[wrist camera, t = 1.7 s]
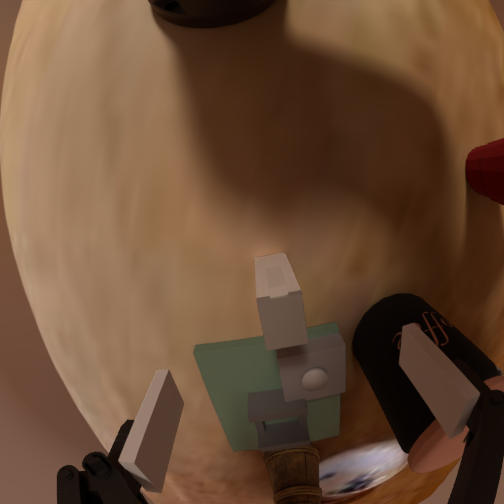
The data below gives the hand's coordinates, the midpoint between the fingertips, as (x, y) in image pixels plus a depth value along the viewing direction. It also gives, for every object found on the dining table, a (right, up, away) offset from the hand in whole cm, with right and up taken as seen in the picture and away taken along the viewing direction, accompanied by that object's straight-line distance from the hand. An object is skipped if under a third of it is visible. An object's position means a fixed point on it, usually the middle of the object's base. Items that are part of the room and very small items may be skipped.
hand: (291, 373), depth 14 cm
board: (+1, -12, +19) cm, 23 cm away
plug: (0, +4, +14) cm, 15 cm away
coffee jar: (+15, -3, +17) cm, 22 cm away
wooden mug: (+6, -29, +24) cm, 38 cm away
